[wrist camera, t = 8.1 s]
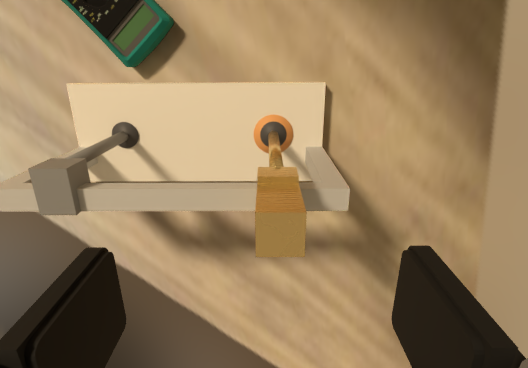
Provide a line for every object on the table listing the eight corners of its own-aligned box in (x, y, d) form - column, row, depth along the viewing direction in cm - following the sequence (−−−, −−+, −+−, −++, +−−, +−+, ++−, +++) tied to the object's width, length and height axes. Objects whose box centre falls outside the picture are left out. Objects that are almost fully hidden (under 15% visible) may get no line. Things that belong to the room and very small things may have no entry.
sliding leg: (260, 130, 39) (255, 203, 19) (286, 130, 39) (306, 203, 19) (261, 163, 41) (255, 263, 21) (285, 163, 41) (304, 263, 21)
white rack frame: (73, 83, 40) (-53, 96, 24) (323, 82, 40) (361, 94, 24) (91, 177, 44) (-6, 241, 28) (318, 177, 44) (347, 241, 28)
